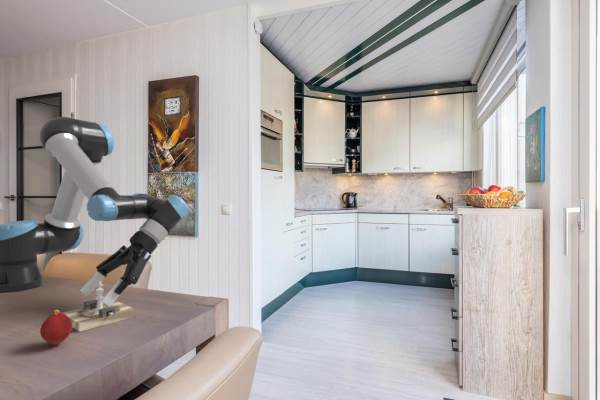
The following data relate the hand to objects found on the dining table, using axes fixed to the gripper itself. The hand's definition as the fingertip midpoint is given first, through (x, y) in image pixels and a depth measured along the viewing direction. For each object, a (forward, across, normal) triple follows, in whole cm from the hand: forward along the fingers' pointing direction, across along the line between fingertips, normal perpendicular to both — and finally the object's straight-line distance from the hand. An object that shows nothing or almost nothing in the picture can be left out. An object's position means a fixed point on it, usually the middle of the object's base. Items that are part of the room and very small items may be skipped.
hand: (93, 298), depth 91 cm
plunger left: (+2, +4, -4) cm, 6 cm away
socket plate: (+3, 0, -5) cm, 6 cm away
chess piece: (+3, 0, -5) cm, 6 cm away
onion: (+12, -10, +4) cm, 16 cm away
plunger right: (+2, -5, -4) cm, 7 cm away
